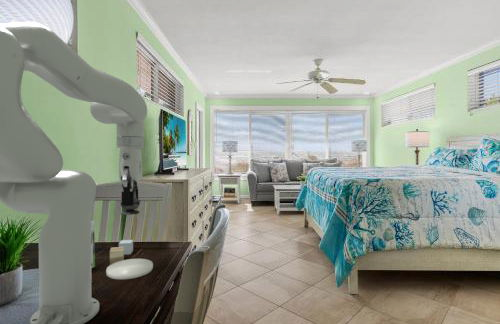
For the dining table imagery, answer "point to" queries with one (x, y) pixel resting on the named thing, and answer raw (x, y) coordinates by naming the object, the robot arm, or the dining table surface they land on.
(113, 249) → the birch block
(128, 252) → the blue-grey block
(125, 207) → the dark grey tall piece
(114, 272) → the cream plate
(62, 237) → the robot arm
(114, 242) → the dining table surface
